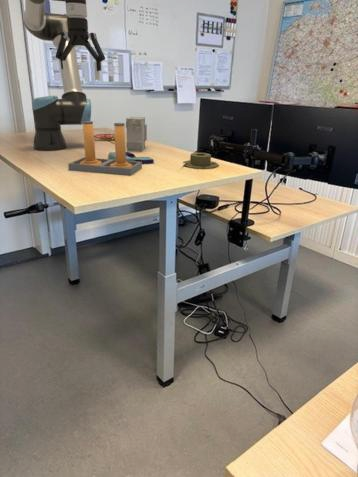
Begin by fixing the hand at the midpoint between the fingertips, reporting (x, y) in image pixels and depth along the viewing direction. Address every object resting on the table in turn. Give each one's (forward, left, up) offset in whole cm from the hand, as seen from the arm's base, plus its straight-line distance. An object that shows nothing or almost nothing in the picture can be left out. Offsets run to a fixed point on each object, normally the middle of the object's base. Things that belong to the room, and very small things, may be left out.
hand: (81, 79), depth 144 cm
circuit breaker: (+14, +26, -31) cm, 43 cm away
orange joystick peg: (+12, -22, -30) cm, 39 cm away
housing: (+18, -22, -31) cm, 42 cm away
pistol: (+23, -6, -32) cm, 40 cm away
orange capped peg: (+24, -22, -30) cm, 45 cm away
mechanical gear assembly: (-9, +43, -32) cm, 55 cm away
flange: (+50, +2, -32) cm, 59 cm away
